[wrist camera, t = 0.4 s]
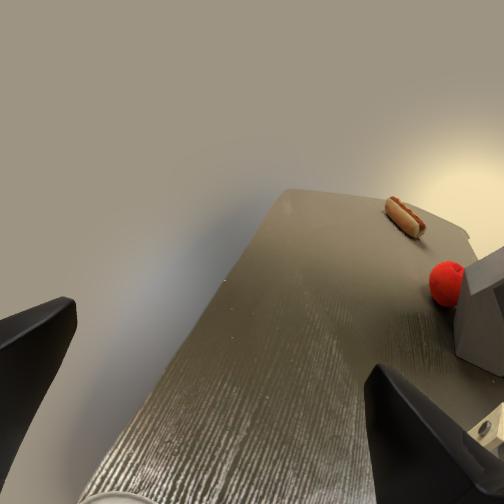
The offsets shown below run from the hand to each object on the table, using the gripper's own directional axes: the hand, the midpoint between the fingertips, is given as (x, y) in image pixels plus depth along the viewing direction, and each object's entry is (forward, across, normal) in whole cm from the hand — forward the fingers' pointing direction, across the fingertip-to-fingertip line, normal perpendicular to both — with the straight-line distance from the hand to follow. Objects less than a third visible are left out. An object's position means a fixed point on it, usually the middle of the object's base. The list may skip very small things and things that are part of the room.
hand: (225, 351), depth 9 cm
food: (+63, -38, +8) cm, 74 cm away
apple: (+35, -36, +13) cm, 52 cm away
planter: (+24, -40, +15) cm, 49 cm away
